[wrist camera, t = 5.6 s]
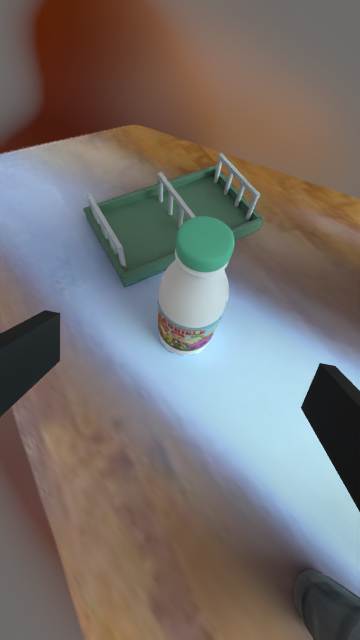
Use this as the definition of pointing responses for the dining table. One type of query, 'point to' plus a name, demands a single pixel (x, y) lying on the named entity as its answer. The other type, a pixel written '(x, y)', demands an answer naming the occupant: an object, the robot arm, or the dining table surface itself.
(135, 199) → the drying rack
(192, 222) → the milk bottle
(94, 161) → the dining table surface
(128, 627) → the dining table surface
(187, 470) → the dining table surface
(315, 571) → the beverage cup
